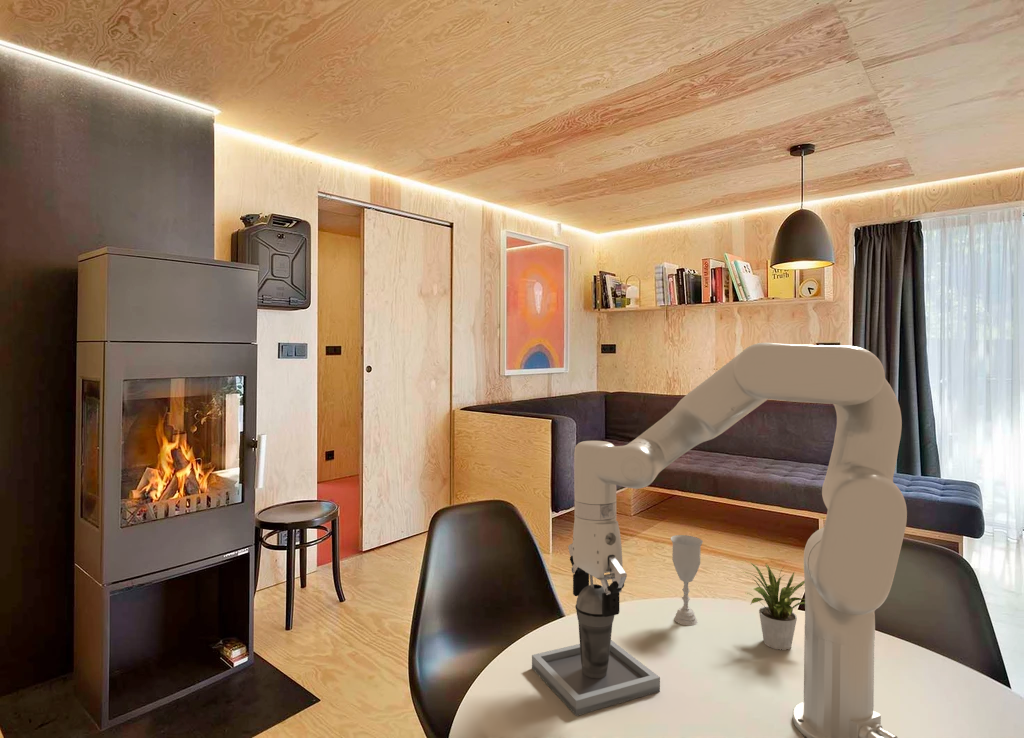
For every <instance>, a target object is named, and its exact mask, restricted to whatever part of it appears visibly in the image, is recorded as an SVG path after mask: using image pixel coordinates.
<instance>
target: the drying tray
mask: <svg viewBox="0 0 1024 738" xmlns="http://www.w3.org/2000/svg"><path fill="white" fill-rule="evenodd" d="M531 669H532V670H533V671H534V672H535V673H536V674H537V676H538V677H539V678H540V679H541V680H542V681H543V682H544V683H545V684H546V685H547V686H548V687H549V689H551V690H552V692H553V693H554V694H555V695H556V696H557V697H558V698H559V699H560V701H562V702H563V703H564V704H565V706H566V707H567V708H568V709H569V710H570V711H571V712H572V713H573V714H574V716H576V717H577V716H581V715H585V714H588V713H591V712H595V711H598V710H602V709H605V708H609V707H611V706H616V705H618V704H622V703H626V702H627V701H628V702H629V701H632V700H635V699H639V698H642V697H646V696H650V695H652V694H655V693H659V692H661V677H660V676H659V675H658V674H657V673H655V672H654V671H653V670H651V669H650V668H649V667H648V666H646V665H645V664H643V663H642V662H640V661H639V660H638V659H637V658H636V657H634V656H633V655H632V654H630V653H629V652H628V651H627V650H625V649H624V648H623V647H621V646H620V645H618V644H617V642H615V641H613V640H612V639H611V643H610V653H609V663H608V669H607V675H606V676H605V677H602V678H590V677H588V676H586V675H584V674H583V673H582V664H581V653H580V643H578V644H573V645H569V646H565V647H560V648H557V649H551V650H548V651H544V652H539V653H534V654H532V655H531Z"/></svg>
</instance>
